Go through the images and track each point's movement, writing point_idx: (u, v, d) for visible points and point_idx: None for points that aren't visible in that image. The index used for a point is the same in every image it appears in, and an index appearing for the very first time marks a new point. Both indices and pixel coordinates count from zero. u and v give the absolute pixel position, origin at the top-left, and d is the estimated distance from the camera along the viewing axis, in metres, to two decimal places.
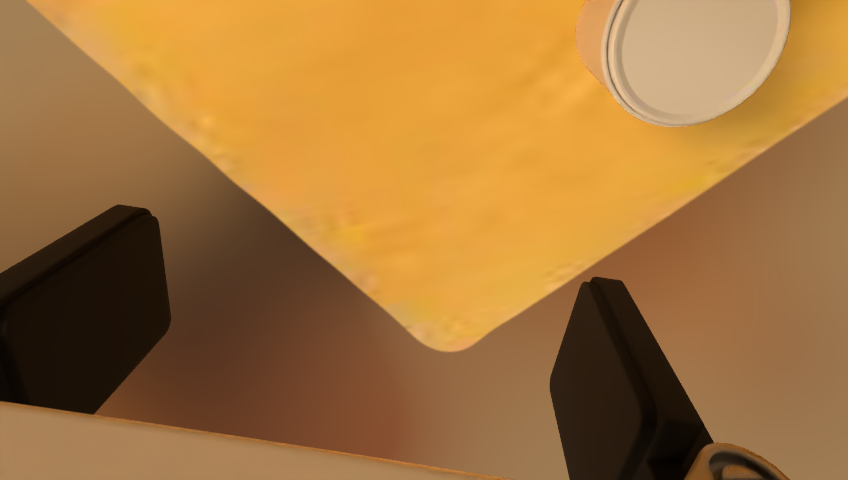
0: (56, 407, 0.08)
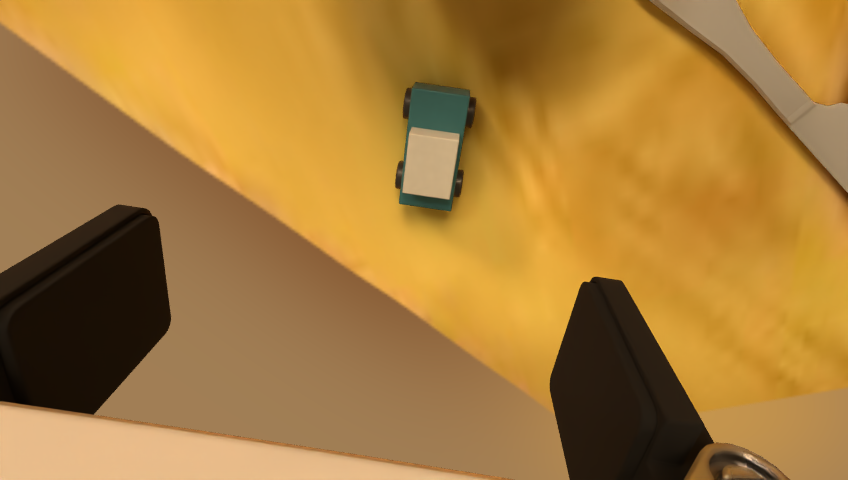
0: (56, 407, 0.08)
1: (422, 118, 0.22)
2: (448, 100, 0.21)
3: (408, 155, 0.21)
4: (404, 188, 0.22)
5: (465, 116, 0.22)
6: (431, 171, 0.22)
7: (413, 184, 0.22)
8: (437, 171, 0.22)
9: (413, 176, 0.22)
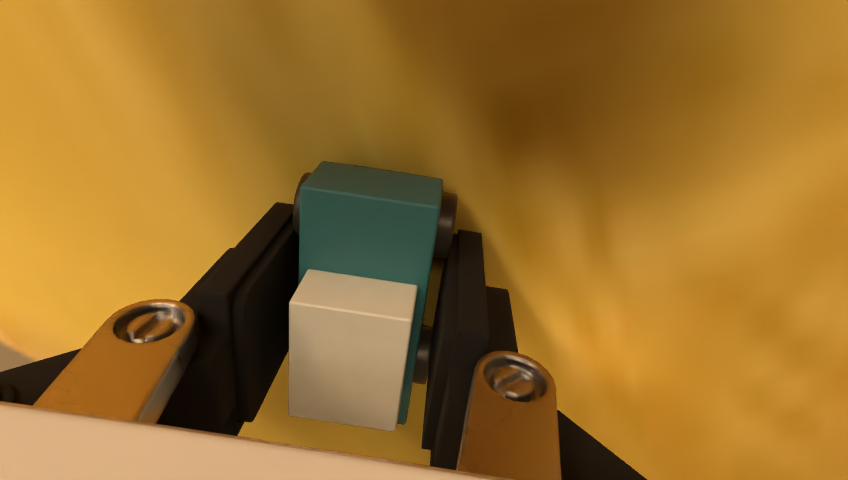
0: (255, 379, 0.09)
1: (331, 251, 0.09)
2: (389, 215, 0.09)
3: (292, 346, 0.09)
4: (291, 408, 0.10)
5: (430, 250, 0.09)
6: (350, 379, 0.09)
7: (311, 401, 0.09)
8: (364, 379, 0.09)
9: (309, 387, 0.09)
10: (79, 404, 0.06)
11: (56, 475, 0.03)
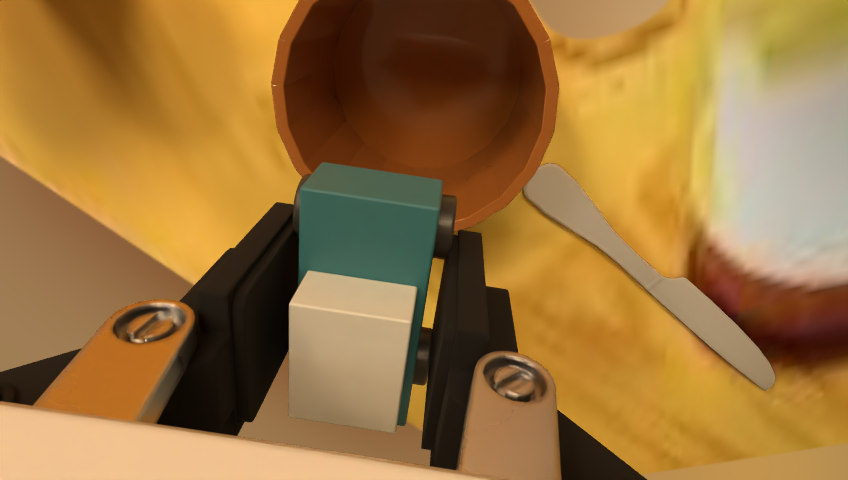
0: (255, 379, 0.09)
1: (330, 252, 0.09)
2: (388, 216, 0.09)
3: (292, 348, 0.09)
4: (291, 410, 0.10)
5: (430, 251, 0.09)
6: (349, 380, 0.09)
7: (311, 403, 0.09)
8: (364, 381, 0.09)
9: (309, 388, 0.09)
10: (80, 404, 0.06)
11: (57, 475, 0.03)
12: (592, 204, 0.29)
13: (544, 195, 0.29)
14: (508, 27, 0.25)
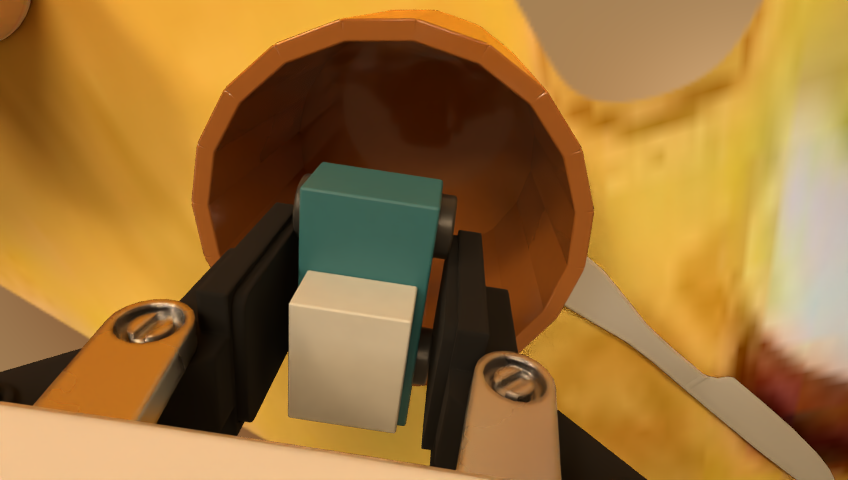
0: (255, 379, 0.09)
1: (330, 252, 0.09)
2: (388, 216, 0.09)
3: (292, 348, 0.09)
4: (291, 410, 0.10)
5: (430, 251, 0.09)
6: (349, 380, 0.09)
7: (310, 403, 0.09)
8: (363, 381, 0.09)
9: (309, 388, 0.09)
10: (79, 404, 0.06)
11: (56, 475, 0.03)
12: (621, 296, 0.23)
13: None
14: None
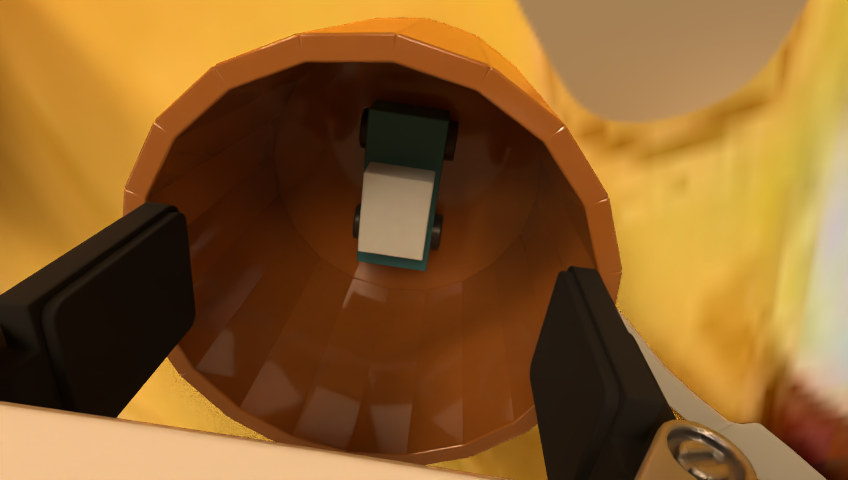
0: (95, 396, 0.08)
1: (384, 149, 0.16)
2: (419, 126, 0.15)
3: (363, 202, 0.15)
4: (360, 245, 0.16)
5: (443, 147, 0.16)
6: (396, 223, 0.16)
7: (372, 240, 0.16)
8: (404, 223, 0.16)
9: (371, 229, 0.16)
10: None
11: (56, 475, 0.03)
12: (637, 336, 0.21)
13: None
14: None
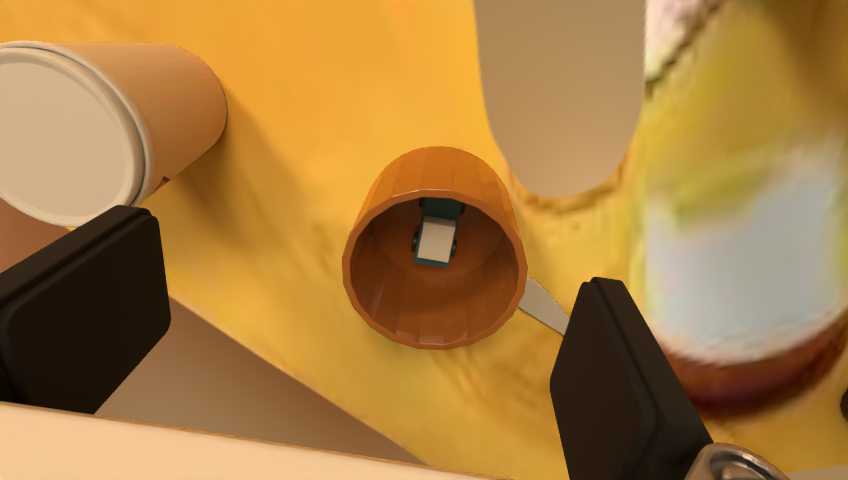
0: (56, 407, 0.08)
1: (432, 210, 0.34)
2: (449, 200, 0.33)
3: (422, 235, 0.33)
4: (419, 254, 0.34)
5: (459, 210, 0.34)
6: (437, 245, 0.34)
7: (425, 252, 0.34)
8: (440, 245, 0.34)
9: (425, 247, 0.34)
10: None
11: (56, 475, 0.03)
12: (557, 305, 0.39)
13: (522, 298, 0.39)
14: None
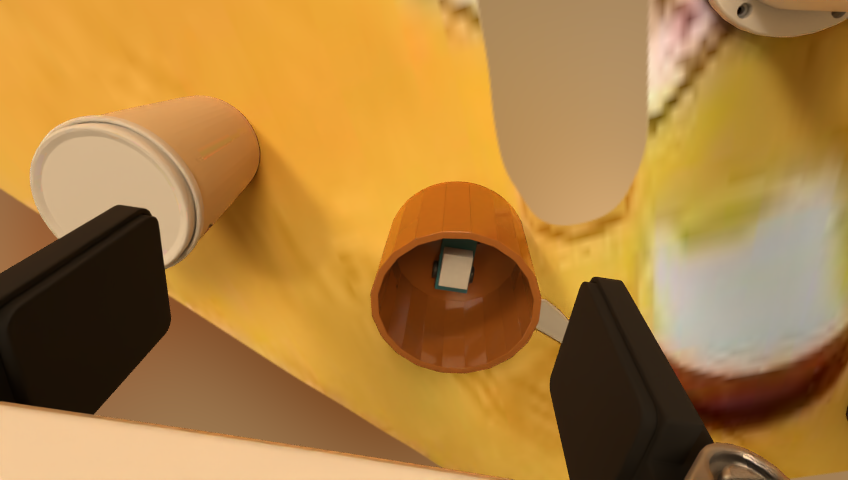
0: (56, 407, 0.08)
1: (451, 241, 0.36)
2: None
3: (442, 265, 0.36)
4: (439, 283, 0.37)
5: (476, 241, 0.36)
6: (456, 274, 0.36)
7: (445, 281, 0.36)
8: (460, 274, 0.36)
9: (445, 276, 0.36)
10: None
11: (56, 475, 0.03)
12: None
13: None
14: None
